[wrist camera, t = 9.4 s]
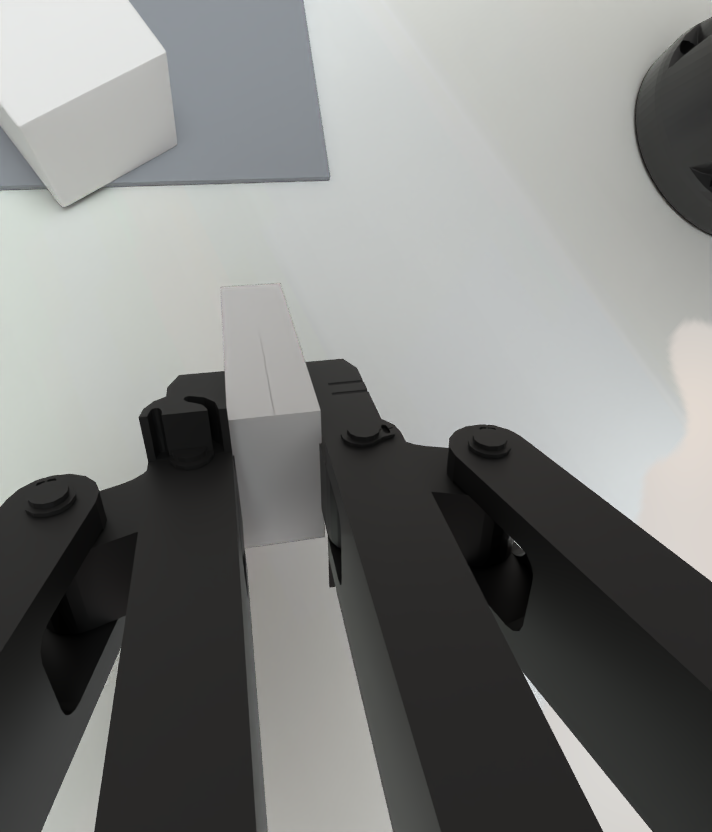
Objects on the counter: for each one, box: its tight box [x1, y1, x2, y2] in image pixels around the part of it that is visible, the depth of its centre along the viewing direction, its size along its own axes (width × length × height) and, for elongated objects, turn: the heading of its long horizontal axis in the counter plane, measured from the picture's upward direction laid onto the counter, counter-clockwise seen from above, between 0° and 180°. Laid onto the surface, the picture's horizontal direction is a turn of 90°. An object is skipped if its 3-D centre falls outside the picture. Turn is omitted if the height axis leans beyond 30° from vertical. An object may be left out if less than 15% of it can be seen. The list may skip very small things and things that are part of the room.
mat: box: [0, 0, 330, 190], centre depth 33 cm, size 22×17×1 cm
